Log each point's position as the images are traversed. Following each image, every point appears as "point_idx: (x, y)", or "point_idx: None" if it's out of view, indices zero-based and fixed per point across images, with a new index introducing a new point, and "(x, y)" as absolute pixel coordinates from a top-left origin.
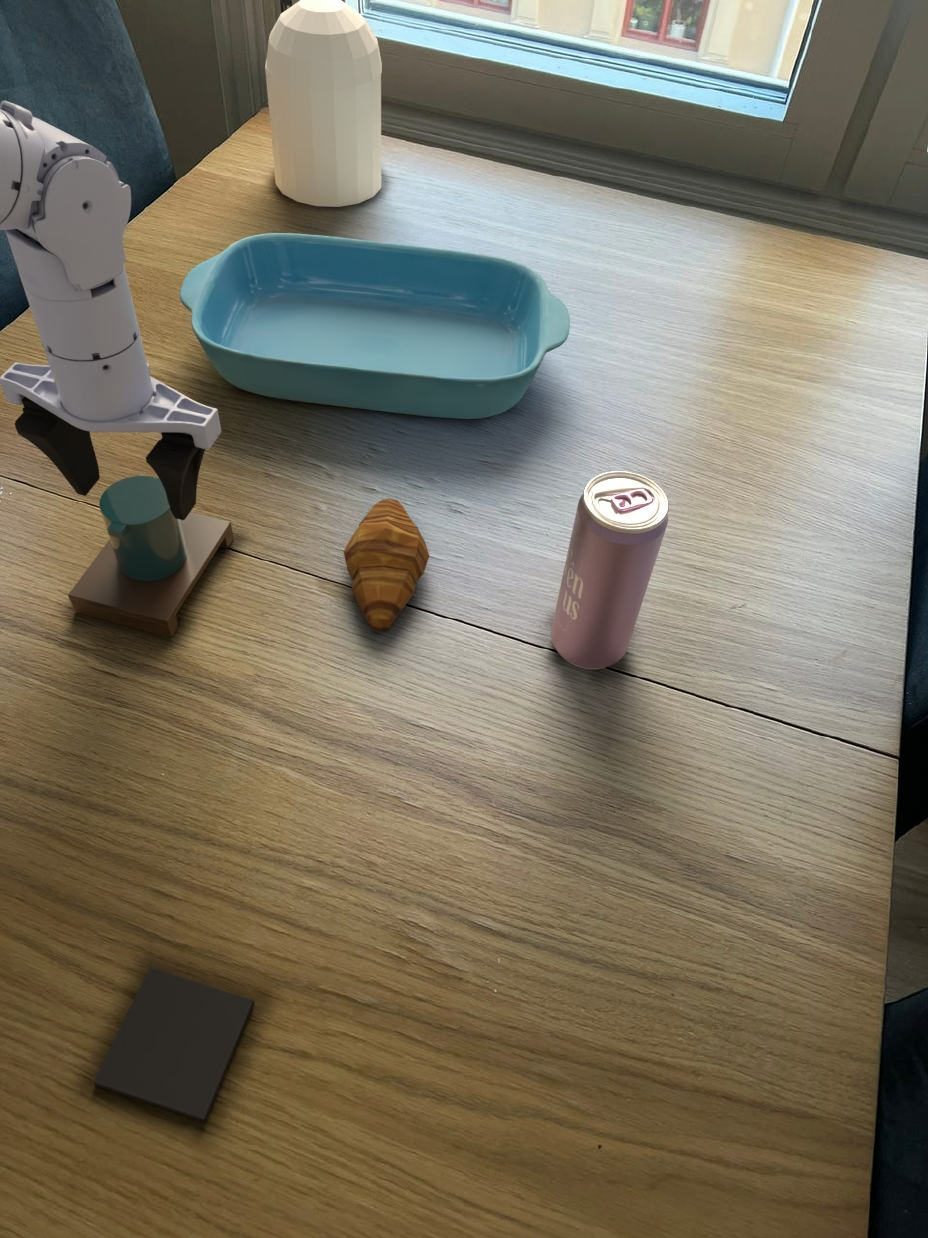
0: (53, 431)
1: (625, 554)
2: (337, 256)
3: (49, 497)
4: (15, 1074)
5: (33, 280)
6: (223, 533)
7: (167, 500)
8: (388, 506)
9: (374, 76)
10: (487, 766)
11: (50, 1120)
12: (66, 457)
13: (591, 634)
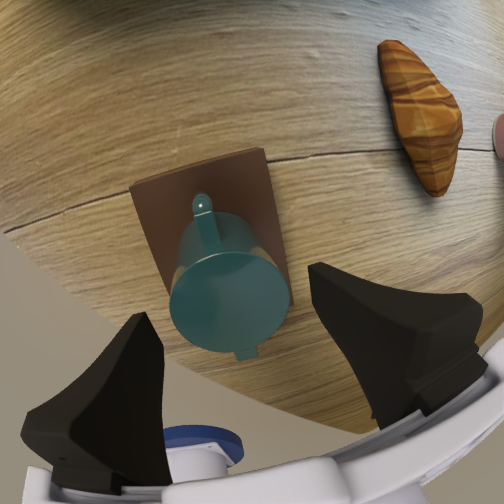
0: (163, 480)
1: None
2: None
3: (40, 227)
4: (346, 430)
5: None
6: (267, 170)
7: (275, 282)
8: (415, 64)
9: None
10: (480, 245)
11: (362, 426)
12: (157, 418)
13: None
